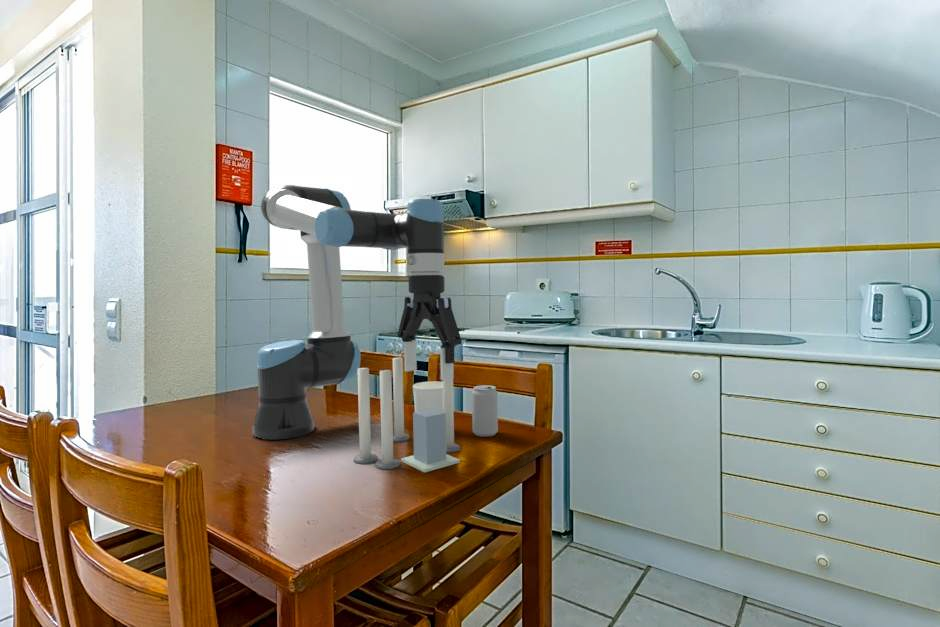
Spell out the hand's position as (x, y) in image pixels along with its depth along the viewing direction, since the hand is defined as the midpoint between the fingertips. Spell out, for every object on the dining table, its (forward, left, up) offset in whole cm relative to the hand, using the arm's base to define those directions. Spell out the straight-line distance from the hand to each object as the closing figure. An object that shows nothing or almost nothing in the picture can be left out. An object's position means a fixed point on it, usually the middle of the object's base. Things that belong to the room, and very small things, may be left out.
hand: (428, 374), depth 110 cm
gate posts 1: (-14, +5, -19) cm, 24 cm away
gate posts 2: (-3, +2, -19) cm, 19 cm away
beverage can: (+5, +23, -19) cm, 30 cm away
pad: (0, 0, -19) cm, 19 cm away
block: (0, 0, -18) cm, 18 cm away
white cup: (-9, +22, -19) cm, 30 cm away
